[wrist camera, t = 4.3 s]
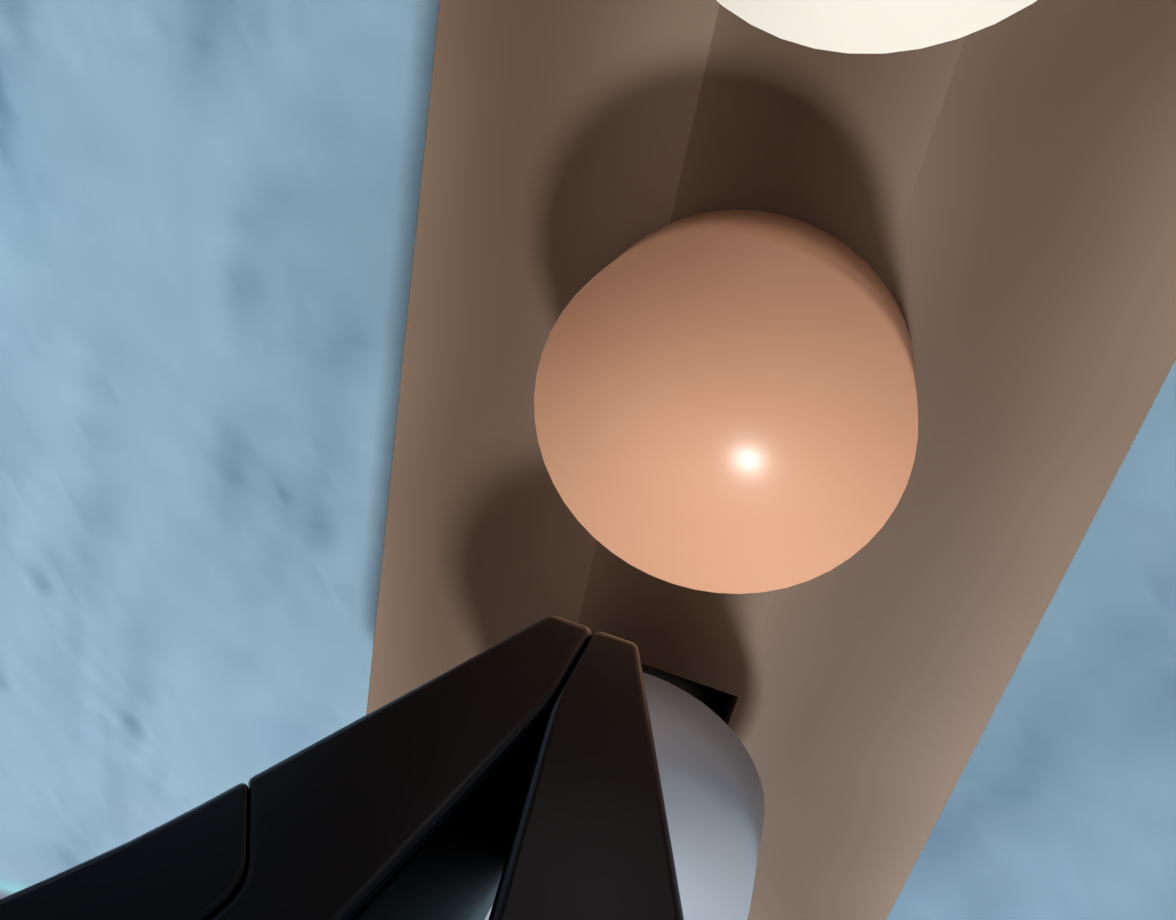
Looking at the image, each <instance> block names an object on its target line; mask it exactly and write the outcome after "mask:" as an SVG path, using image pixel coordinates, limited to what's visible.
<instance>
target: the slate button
mask: <svg viewBox="0 0 1176 920" xmlns="http://www.w3.org/2000/svg"><path fill="white" fill-rule="evenodd" d="M641 666H642V672H643V678H644V684H645V690H646V696H647V702H648V708H649V714H650V720H651V726H652V732H653V737H654V743H655V749H656V755H657V761H658V767H659V773H660V779H661V785H662V791H663V797H664V803H665V809H666V815H667V821H668V827H669V833H670V839H671V845H672V851H673V857H674V863H675V869H676V875H677V881H678V887H679V893H680V899H681V905H682V911H683V916H684V920H747V918H748V915H749V910H750V904H751V897H752V891H753V885H754V879H755V873H756V867H757V861H758V855H759V848H760V842H761V836H762V830H763V823H764V814H765V805H764V793H763V789H762V785H761V780H760V777H759V775H758V772H757V770H756V767H755V765H754V762H753V760H752V759H751V757H750V755H749V753H748V752H747V750H746V748H745V746H744V745H743V744H742V742H741V741H740V740H739V738H738V737H737V736H736V734H735V733H734V732H733V731H732V729H731V728H730V727H729V726H728V725H727V724H726V723H725V722H724V721H723V720H722V719H721V718H720V717H719V716H718V715H717V714H716V713H714V712H713V711H712V710H711V709H710V704H711V691H710V687H708V686H705V685H702V684H700V683H697V682H694V681H691V680H688V679H685V678H682V677H679V676H676V675H674V674H671V673H668V672H665V671H662V670H659V669H656V668H653V667H650V666H648V665H645V664H642V663H641ZM491 909H492V907H491ZM491 909H490V910H489V912H488V914H487V916H486V918H485V920H488V919H489V916H490V912H491Z"/></svg>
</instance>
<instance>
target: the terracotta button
mask: <svg viewBox="0 0 1176 920" xmlns="http://www.w3.org/2000/svg"><path fill="white" fill-rule="evenodd" d="M534 417H535V425H536V432H537V438H538V443H539V447H540V450H541V453H542V457H543V460H544V463H545V466H546V468H547V470H548V473H549V475H550V477H551V480H552V482H553V484H554V486H555V487H556V489H557V491H558V493H559V494H560V496H561V498H562V499H563V501H564V503H565V504H566V505H567V507H568V508H569V509H570V511H571V512H572V513H573V515H574V516H575V517H576V519H577V520H578V521H579V522H580V523H581V524H582V525H583V527H584V528H585V529H586V530H587V531H588V532H589V533H590V534H591V535H592V536H593V537H594V538H595V539H596V540H598V541H599V542H600V543H601V544H602V545H603V546H605V547H606V548H607V549H608V550H609V551H611V552H612V553H614V554H615V555H617V556H618V557H619V558H621V559H622V560H624V561H625V562H627V563H628V564H630V565H632V566H634V567H636V568H638V569H640V570H641V571H643V572H645V573H647V574H649V575H651V576H654V577H656V578H659V579H662V580H664V581H667V582H669V583H672V584H676V585H679V586H683V587H687V588H690V589H694V590H701V591H707V592H714V593H729V594H747V593H760V592H767V591H773V590H778V589H783V588H788V587H791V586H794V585H797V584H800V583H803V582H806V581H809V580H811V579H813V578H816V577H818V576H820V575H822V574H824V573H826V572H829V571H830V570H832V569H834V568H835V567H837V566H838V565H840V564H842V563H843V562H845V561H846V560H848V559H849V558H851V557H852V556H853V555H854V554H855V553H857V552H858V551H859V550H860V549H861V548H863V547H864V546H865V545H866V544H867V543H868V542H869V541H870V540H871V539H872V538H873V537H874V536H875V535H876V534H877V532H878V531H879V530H880V529H881V528H882V527H883V526H884V524H885V523H886V521H887V520H888V518H889V517H890V515H891V514H892V513H893V511H894V510H895V508H896V507H897V505H898V503H899V500H900V498H901V496H902V494H903V492H904V490H905V488H906V486H907V483H908V480H909V477H910V474H911V471H912V468H913V464H914V460H915V454H916V447H917V441H918V403H917V388H916V372H915V362H914V355H913V348H912V343H911V339H910V336H909V332H908V329H907V326H906V322H905V320H904V318H903V316H902V314H901V311H900V309H899V307H898V305H897V303H896V301H895V299H894V297H893V296H892V294H891V293H890V291H889V290H888V288H887V287H886V285H885V283H884V282H883V280H882V279H881V278H880V277H879V276H878V275H877V274H876V272H875V271H874V270H873V269H872V268H871V267H870V265H869V264H868V263H867V262H866V261H865V260H864V259H862V258H861V257H860V256H859V255H858V254H857V253H856V252H854V251H853V250H852V249H851V248H850V247H849V246H847V245H846V244H844V243H843V242H841V241H840V240H838V239H837V238H835V237H834V236H832V235H830V234H829V233H827V232H825V231H823V230H821V229H819V228H817V227H815V226H813V225H810V224H808V223H806V222H803V221H800V220H797V219H794V218H791V217H788V216H785V215H781V214H775V213H770V212H764V211H758V210H737V209H734V210H722V211H711V212H706V213H702V214H697V215H693V216H689V217H686V218H683V219H680V220H678V221H675V222H672V223H669V224H667V225H665V226H663V227H661V228H659V229H657V230H655V231H654V232H652V233H650V234H648V235H646V236H645V237H643V238H642V239H641V240H639V241H638V242H636V243H635V244H634V245H632V246H631V247H630V248H628V249H627V250H626V251H625V252H623V253H622V254H621V255H620V256H619V257H617V258H616V259H615V260H614V261H613V262H611V263H610V264H609V265H608V266H606V267H605V268H604V269H603V270H602V271H600V272H599V273H598V274H597V275H596V276H594V277H593V278H592V279H591V280H590V281H589V282H588V283H587V284H586V285H585V286H584V287H583V288H582V289H581V290H580V291H579V292H578V293H577V294H576V295H575V296H574V297H573V299H572V300H571V301H570V302H569V304H568V305H567V306H566V308H565V309H564V310H563V311H562V313H561V315H560V316H559V318H558V320H557V321H556V323H555V325H554V327H553V328H552V330H551V332H550V334H549V337H548V339H547V342H546V344H545V347H544V349H543V352H542V355H541V359H540V363H539V367H538V371H537V375H536V383H535V393H534Z"/></svg>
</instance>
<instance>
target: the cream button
mask: <svg viewBox="0 0 1176 920" xmlns="http://www.w3.org/2000/svg"><path fill="white" fill-rule="evenodd" d="M716 1H717V2H719V3H720V4H721V5H722V6H723V7H725V8H726V9H728V10H729V11H731V12H732V13H734V14H735V15H737V16H738V17H740V18H741V19H743V20H745V21H746V22H748V23H749V24H751V25H753V26H755V27H757V28H759V29H761V30H763V31H766V32H768V33H770V34H772V35H774V36H776V37H778V38H781V39H784V40H787V41H790V42H794V43H797V44H800V45H804V46H807V47H810V48H814V49H821V50H827V51H834V52H841V53H848V54H885V53H893V52H900V51H908V50H915V49H922V48H926V47H929V46H933V45H937V44H941V43H944V42H948V41H952V40H956V39H959V38H961V37H964V36H966V35H969V34H971V33H974V32H976V31H979V30H981V29H984V28H986V27H989V26H991V25H994V24H996V23H998V22H1000V21H1001V20H1003V19H1005V18H1007V17H1009V16H1011V15H1012V14H1014V13H1016V12H1018V11H1020V10H1022V9H1023V8H1025V7H1027V6H1029V5H1031V4H1033V3H1034V2H1036V1H1037V0H716Z"/></svg>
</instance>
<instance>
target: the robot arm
mask: <svg viewBox="0 0 1176 920" xmlns="http://www.w3.org/2000/svg"><path fill="white" fill-rule="evenodd" d="M491 907H492V909H491ZM490 909H491V912H490V916H489V919H488V920H684V916H683V911H682V905H681V899H680V893H679V887H678V881H677V875H676V869H675V863H674V857H673V851H672V845H671V839H670V833H669V827H668V821H667V815H666V809H665V803H664V797H663V791H662V785H661V779H660V773H659V767H658V761H657V755H656V749H655V743H654V737H653V732H652V726H651V720H650V714H649V708H648V702H647V696H646V690H645V684H644V678H643V672H642V666H641V660H640V654H639V650H638V647H637V646H636V644H634V643H633V642H630V641H627V640H624V639H622V638H619V637H616V636H613V635H610V634H607V633H604V632H596V633H594V634H593V635H592V634H591V630H590V629H589V628H588V627H586V626H583V625H580V624H577V623H574V622H572V621H569V620H566V619H563V618H560V617H557V616H548V617H546V618H544V619H542V620H540V621H538V622H536V623H534V624H533V625H531V626H529V627H527V628H525V629H523V630H522V631H520V632H518V633H516V634H514V635H512V636H511V637H509V638H507V639H505V640H503V641H501V642H500V643H498V644H496V645H494V646H492V647H490V648H489V649H487V650H485V651H483V652H481V653H479V654H478V655H476V656H474V657H472V658H470V659H468V660H467V661H465V662H463V663H461V664H459V665H457V666H456V667H454V668H452V669H450V670H448V671H446V672H445V673H443V674H441V675H439V676H437V677H435V678H434V679H432V680H430V681H428V682H426V683H424V684H423V685H421V686H419V687H417V688H415V689H413V690H412V691H410V692H408V693H406V694H404V695H402V696H401V697H399V698H397V699H395V700H393V701H391V702H390V703H388V704H386V705H384V706H382V707H380V708H379V709H377V710H375V711H373V712H371V713H369V714H368V715H366V716H364V717H362V718H360V719H358V720H357V721H355V722H353V723H351V724H349V725H347V726H345V727H344V728H342V729H340V730H338V731H336V732H334V733H333V734H331V735H329V736H327V737H325V738H323V739H322V740H320V741H318V742H316V743H314V744H312V745H311V746H309V747H307V748H305V749H303V750H301V751H300V752H298V753H296V754H294V755H292V756H290V757H289V758H287V759H285V760H283V761H281V762H279V763H278V764H276V765H274V766H272V767H270V768H268V769H267V770H265V771H263V772H261V773H259V774H257V775H256V776H254V777H252V778H251V779H250V780H249V785H248V786H247V785H246V784H244V783H241V784H238V785H236V786H235V787H233V788H231V789H229V790H227V791H225V792H224V793H222V794H220V795H218V796H216V797H214V798H213V799H211V800H209V801H207V802H205V803H203V804H202V805H200V806H198V807H196V808H194V809H192V810H190V811H188V812H186V813H184V814H182V815H180V816H178V817H176V818H174V819H172V820H171V821H169V822H167V823H165V824H163V825H161V826H159V827H157V828H155V829H153V830H151V831H149V832H147V833H145V834H143V835H141V836H139V837H137V838H135V839H133V840H132V841H129V842H127V843H125V844H123V845H121V846H118V847H116V848H114V849H112V850H110V851H108V852H105V853H103V854H101V855H99V856H97V857H94V858H92V859H90V860H88V861H86V862H83V863H81V864H79V865H77V866H75V867H72V868H70V869H68V870H66V871H64V872H62V873H59V874H57V875H55V876H53V877H51V878H48V879H46V880H44V881H41V882H39V883H37V884H34V885H32V886H30V887H28V888H25V889H23V890H21V891H18V892H16V893H14V894H11V895H9V896H7V897H4V898H2V899H0V920H485V918H486V916H487V914H488V912H489V910H490Z"/></svg>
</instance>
